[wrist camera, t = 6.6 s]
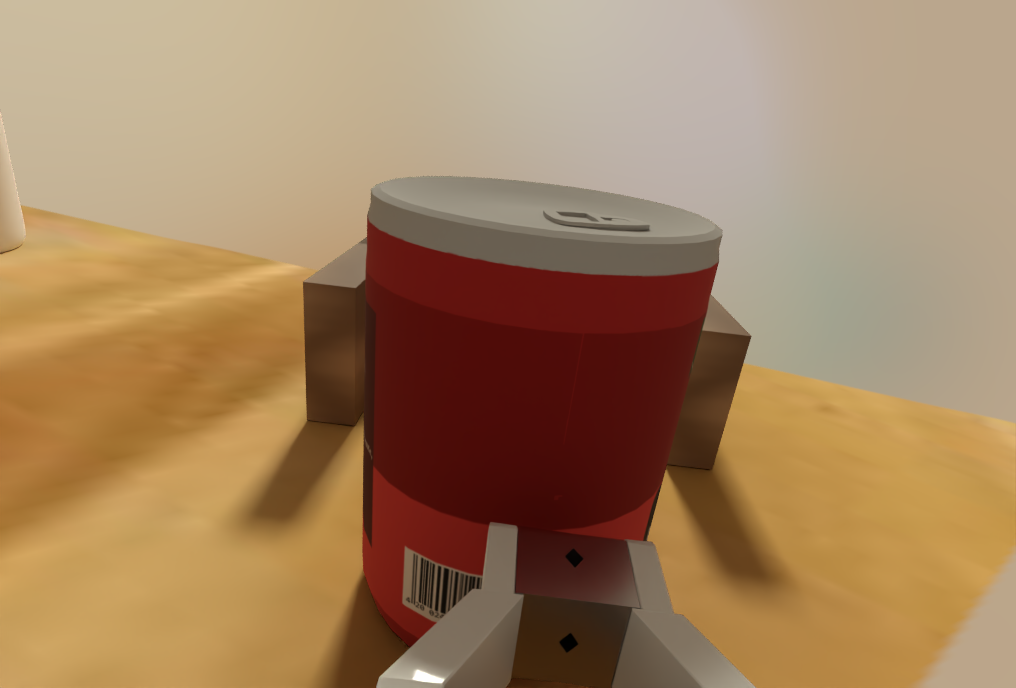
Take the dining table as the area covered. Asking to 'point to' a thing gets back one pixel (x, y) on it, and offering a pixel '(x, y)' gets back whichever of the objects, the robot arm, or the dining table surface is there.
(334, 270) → the corral
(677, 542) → the dining table surface
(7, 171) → the cup
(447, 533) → the canned food
